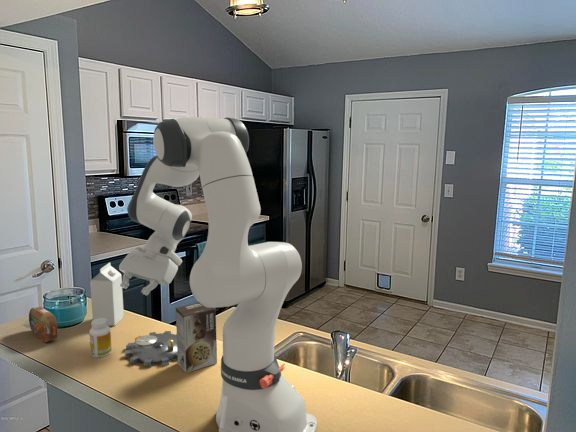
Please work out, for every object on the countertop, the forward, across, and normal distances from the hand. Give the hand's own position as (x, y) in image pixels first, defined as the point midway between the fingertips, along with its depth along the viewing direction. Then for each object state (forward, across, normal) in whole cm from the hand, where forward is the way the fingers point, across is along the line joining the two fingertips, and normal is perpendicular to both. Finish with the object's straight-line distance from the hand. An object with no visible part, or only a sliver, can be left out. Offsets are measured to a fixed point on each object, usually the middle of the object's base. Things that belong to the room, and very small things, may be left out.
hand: (133, 290), depth 129 cm
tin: (+21, -23, 0) cm, 31 cm away
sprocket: (+12, +12, +9) cm, 19 cm away
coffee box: (+11, +26, +10) cm, 30 cm away
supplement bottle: (+19, 0, +2) cm, 19 cm away
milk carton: (+9, -16, +12) cm, 22 cm away
